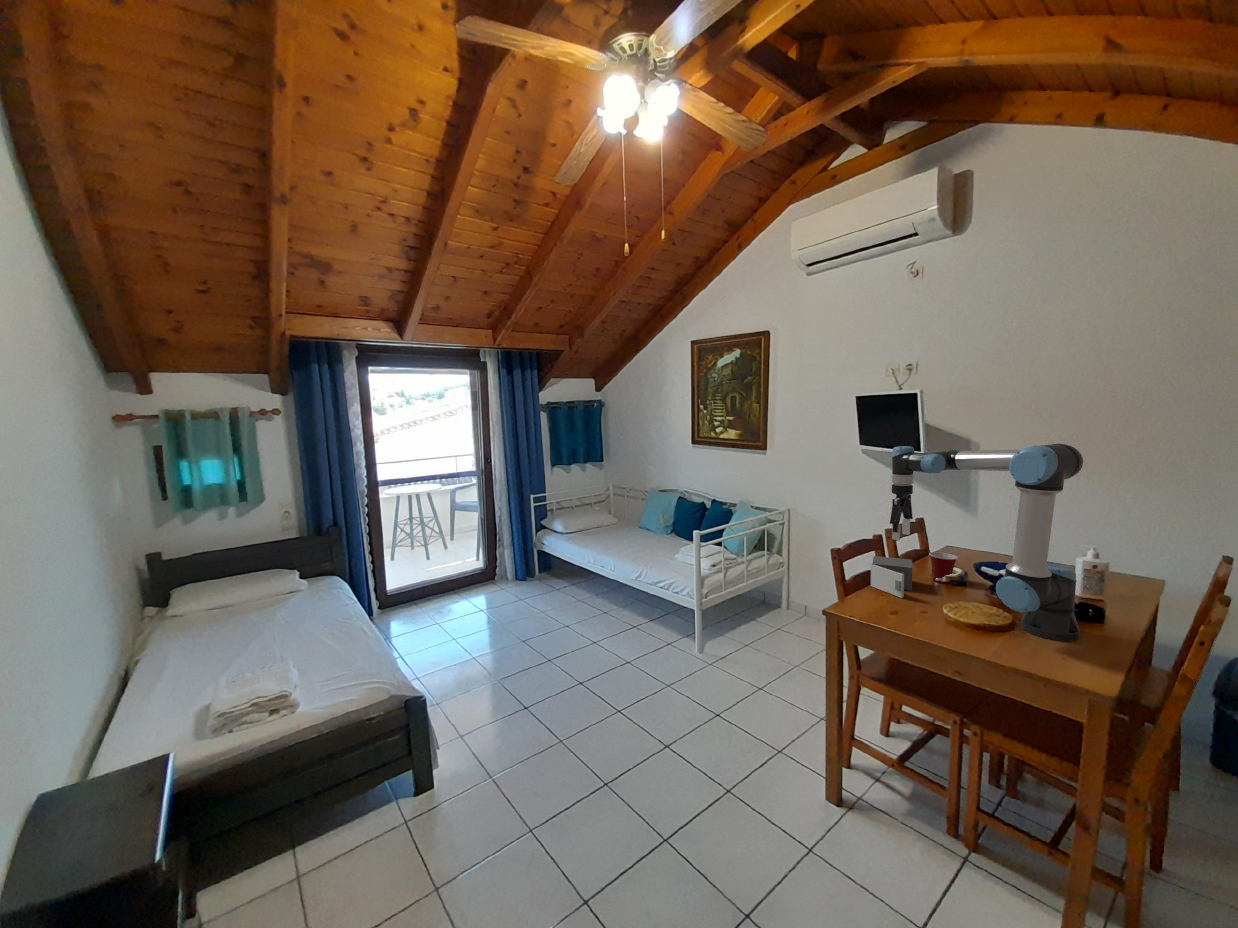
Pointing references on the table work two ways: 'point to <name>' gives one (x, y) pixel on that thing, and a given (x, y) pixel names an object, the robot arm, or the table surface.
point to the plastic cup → (942, 564)
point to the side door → (887, 580)
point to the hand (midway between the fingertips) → (901, 536)
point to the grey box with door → (897, 568)
